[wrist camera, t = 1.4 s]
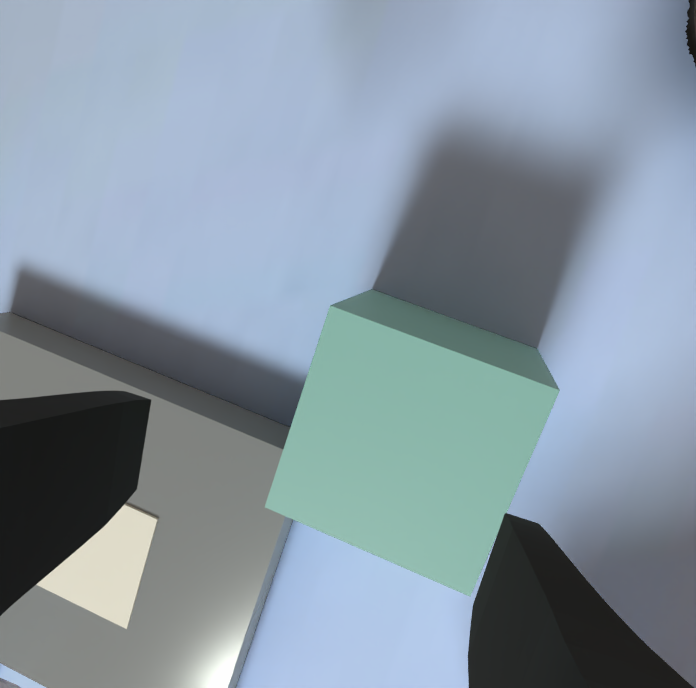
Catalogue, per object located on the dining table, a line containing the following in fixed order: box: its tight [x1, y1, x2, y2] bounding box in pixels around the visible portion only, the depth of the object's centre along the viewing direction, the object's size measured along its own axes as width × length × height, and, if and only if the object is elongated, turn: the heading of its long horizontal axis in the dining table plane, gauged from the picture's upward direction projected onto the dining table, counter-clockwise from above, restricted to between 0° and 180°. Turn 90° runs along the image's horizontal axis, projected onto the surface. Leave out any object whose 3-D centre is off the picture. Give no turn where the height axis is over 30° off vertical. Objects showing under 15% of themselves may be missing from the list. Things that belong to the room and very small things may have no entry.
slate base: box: [0, 312, 293, 688], centre depth 24 cm, size 14×14×2 cm
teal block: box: [265, 289, 560, 596], centre depth 18 cm, size 6×6×6 cm
